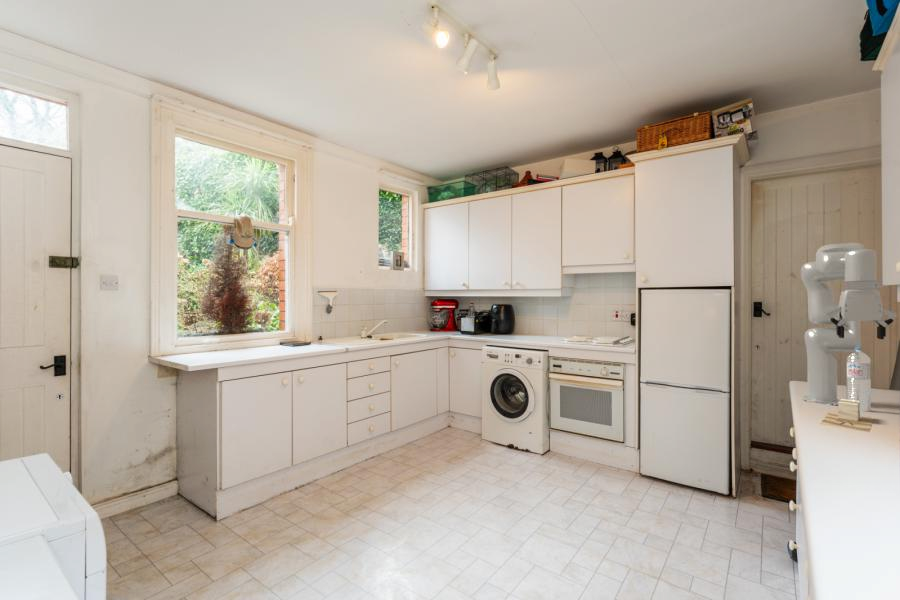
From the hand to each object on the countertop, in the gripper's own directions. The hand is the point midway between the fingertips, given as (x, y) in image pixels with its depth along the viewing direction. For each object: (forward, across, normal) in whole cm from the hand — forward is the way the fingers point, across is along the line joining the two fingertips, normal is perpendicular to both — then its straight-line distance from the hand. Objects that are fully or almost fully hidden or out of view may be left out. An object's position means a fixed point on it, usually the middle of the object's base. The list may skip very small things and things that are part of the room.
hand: (860, 338), depth 139 cm
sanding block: (+30, -1, -14) cm, 33 cm away
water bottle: (+31, -8, -32) cm, 45 cm away
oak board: (+31, +1, -9) cm, 32 cm away
